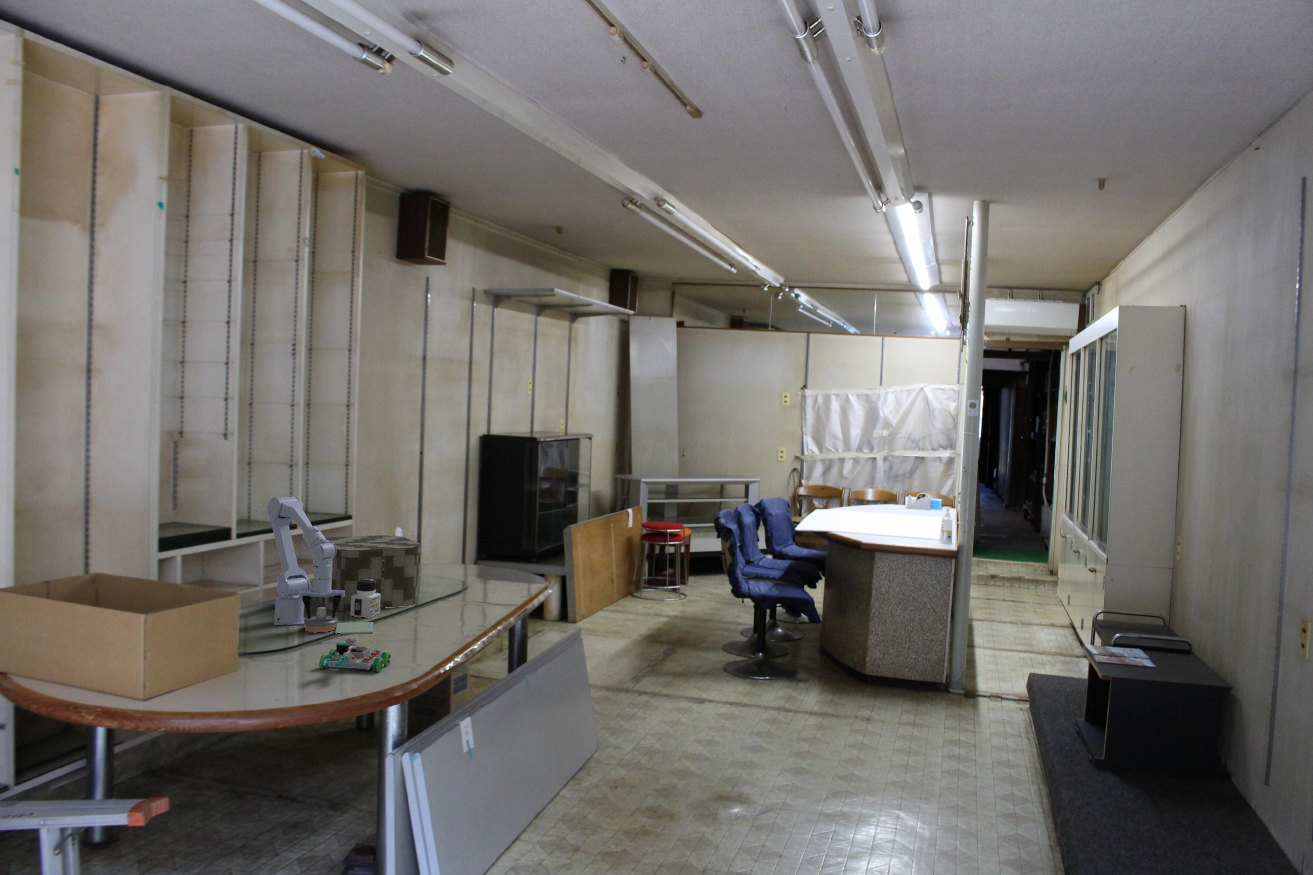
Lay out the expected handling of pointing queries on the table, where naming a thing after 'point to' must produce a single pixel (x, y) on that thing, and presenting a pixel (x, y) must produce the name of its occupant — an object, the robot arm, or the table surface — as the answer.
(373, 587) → the container
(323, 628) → the bowl
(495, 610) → the table surface
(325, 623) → the lid
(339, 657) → the robot kit
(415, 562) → the storage box
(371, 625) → the mat
